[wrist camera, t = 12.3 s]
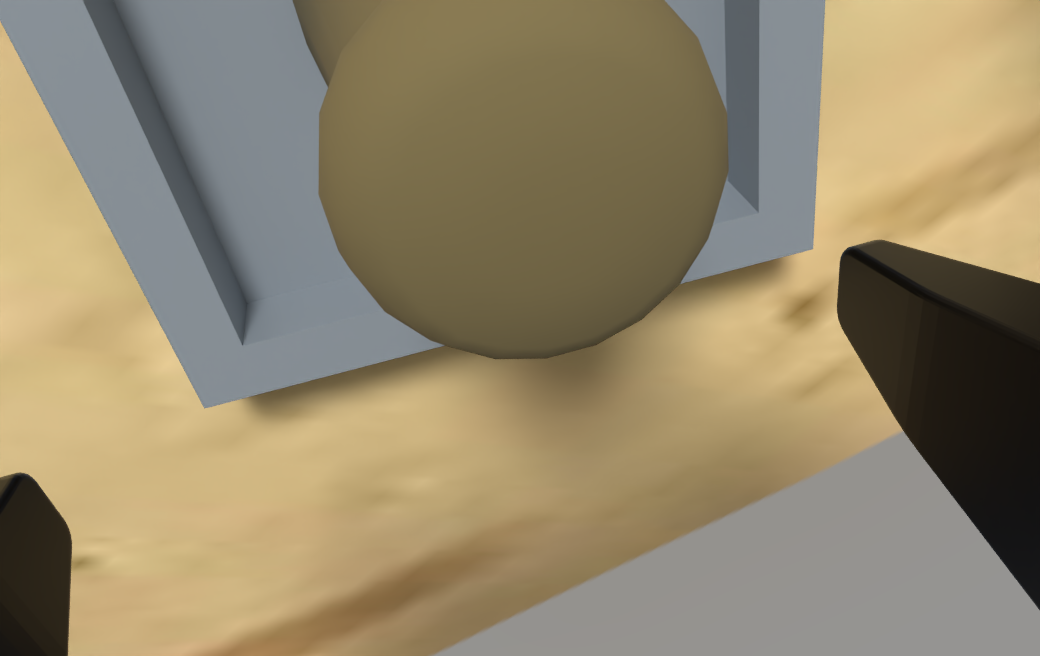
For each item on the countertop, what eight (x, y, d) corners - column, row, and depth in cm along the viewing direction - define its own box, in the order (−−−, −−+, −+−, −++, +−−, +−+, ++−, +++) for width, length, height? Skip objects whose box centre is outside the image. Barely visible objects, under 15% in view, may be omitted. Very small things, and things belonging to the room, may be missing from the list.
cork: (620, 8, 19) (884, 237, 11) (420, 173, 21) (506, 500, 12) (453, -246, 16) (635, -222, 7) (227, -30, 17) (145, 215, 8)
